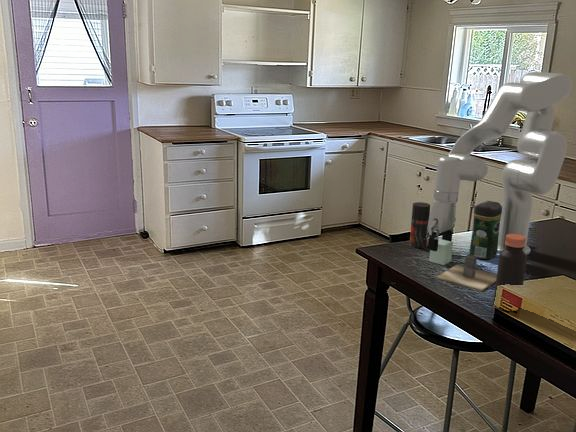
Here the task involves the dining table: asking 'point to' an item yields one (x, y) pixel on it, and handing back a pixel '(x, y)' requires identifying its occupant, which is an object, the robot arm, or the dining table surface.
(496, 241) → the coffee jar
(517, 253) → the bottle
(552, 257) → the dining table surface
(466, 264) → the post stand
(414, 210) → the deodorant
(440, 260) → the pale green rectangular prism
